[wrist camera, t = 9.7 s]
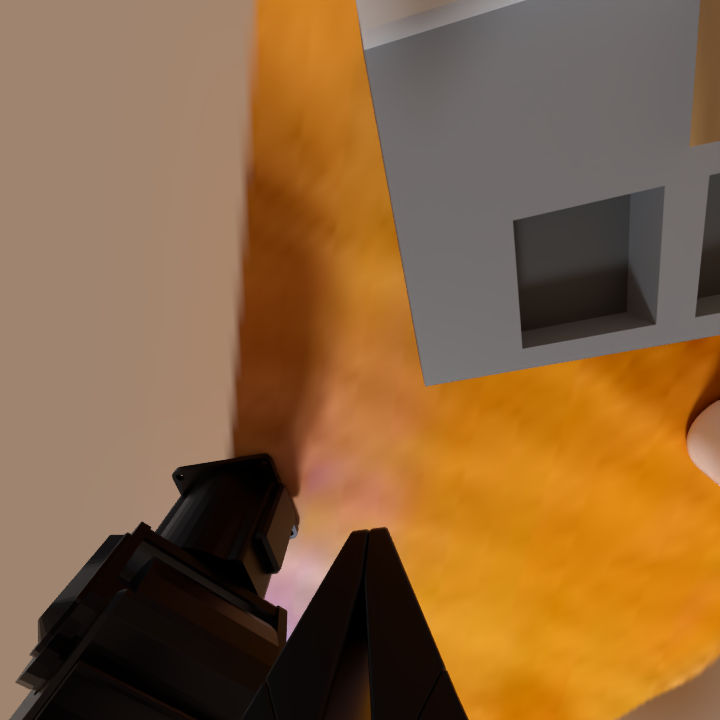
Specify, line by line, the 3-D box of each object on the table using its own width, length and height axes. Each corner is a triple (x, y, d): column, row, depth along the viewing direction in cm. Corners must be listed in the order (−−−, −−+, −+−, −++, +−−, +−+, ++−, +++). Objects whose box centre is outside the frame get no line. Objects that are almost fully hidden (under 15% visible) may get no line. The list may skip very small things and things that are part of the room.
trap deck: (420, 365, 20) (429, 407, 16) (362, 50, 15) (354, -11, 11) (805, 295, 17) (937, 322, 13) (889, -113, 12) (1144, -275, 8)
